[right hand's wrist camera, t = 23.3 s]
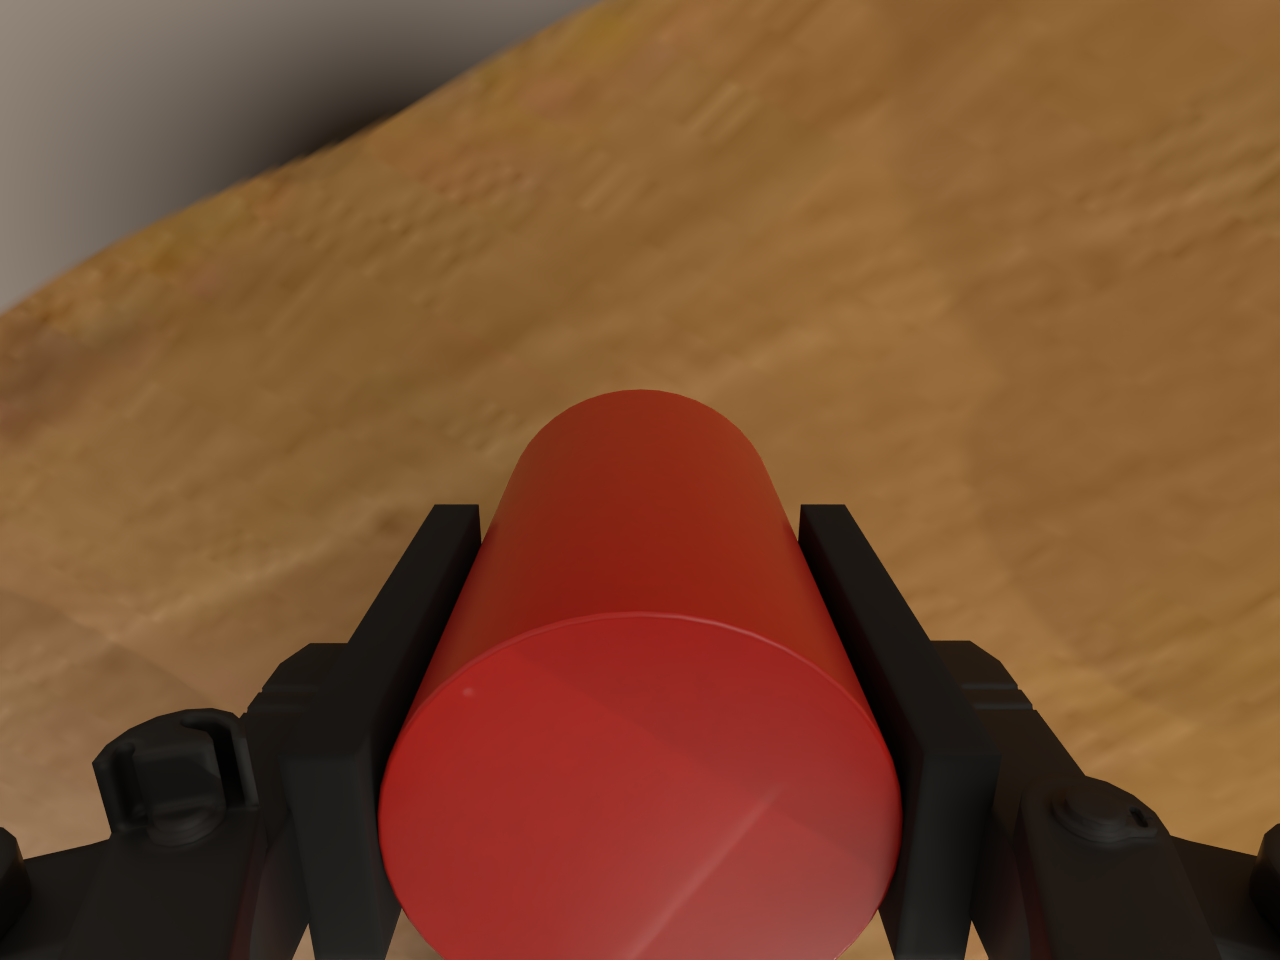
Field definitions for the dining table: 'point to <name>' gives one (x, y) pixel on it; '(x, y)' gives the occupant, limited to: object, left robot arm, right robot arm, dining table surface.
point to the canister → (640, 717)
